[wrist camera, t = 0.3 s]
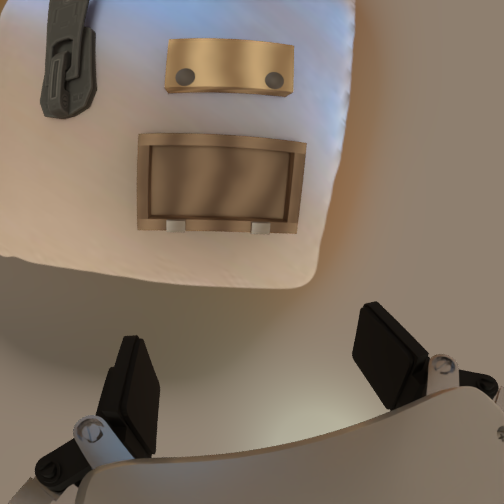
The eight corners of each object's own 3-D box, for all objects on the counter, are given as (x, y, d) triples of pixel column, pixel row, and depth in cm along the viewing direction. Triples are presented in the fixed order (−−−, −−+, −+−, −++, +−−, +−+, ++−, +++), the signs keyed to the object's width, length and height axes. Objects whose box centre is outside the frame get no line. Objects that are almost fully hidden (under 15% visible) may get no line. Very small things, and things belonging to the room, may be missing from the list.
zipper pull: (102, -41, 15) (77, 106, 24) (113, -22, 22) (96, 111, 30) (50, -22, 14) (22, 122, 23) (65, -7, 20) (46, 124, 29)
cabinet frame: (142, 224, 37) (136, 231, 34) (143, 135, 33) (137, 133, 30) (290, 227, 41) (298, 235, 38) (299, 143, 37) (308, 143, 33)
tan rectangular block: (168, 93, 32) (164, 87, 28) (172, 49, 29) (168, 38, 26) (284, 97, 35) (293, 91, 31) (285, 54, 32) (294, 45, 28)
